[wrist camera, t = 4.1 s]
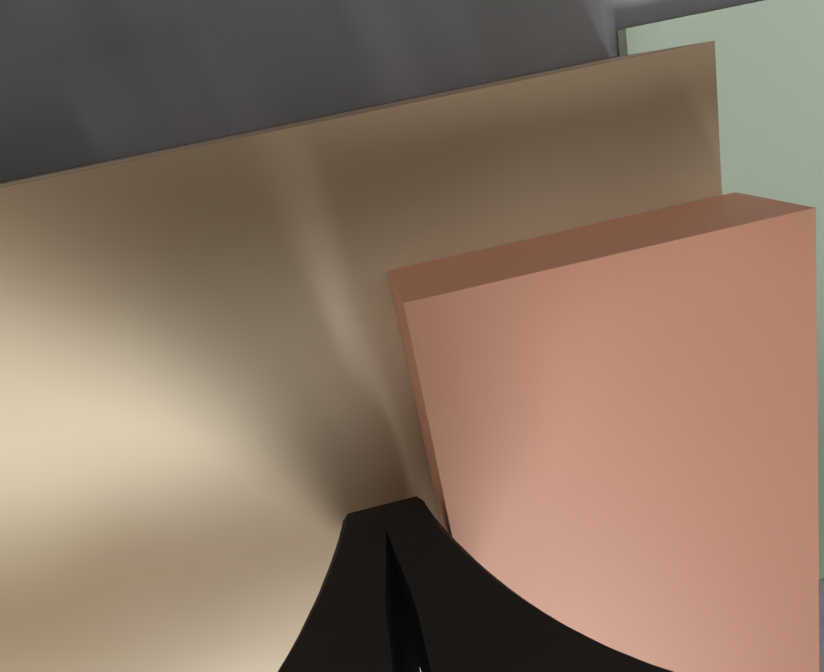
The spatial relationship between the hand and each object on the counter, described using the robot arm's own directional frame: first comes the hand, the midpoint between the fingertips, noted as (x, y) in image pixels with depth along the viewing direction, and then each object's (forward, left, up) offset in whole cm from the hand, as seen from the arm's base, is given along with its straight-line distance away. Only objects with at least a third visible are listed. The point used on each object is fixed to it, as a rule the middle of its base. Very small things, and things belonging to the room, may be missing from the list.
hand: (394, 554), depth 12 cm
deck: (0, +1, -5) cm, 5 cm away
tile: (0, -4, -1) cm, 4 cm away
